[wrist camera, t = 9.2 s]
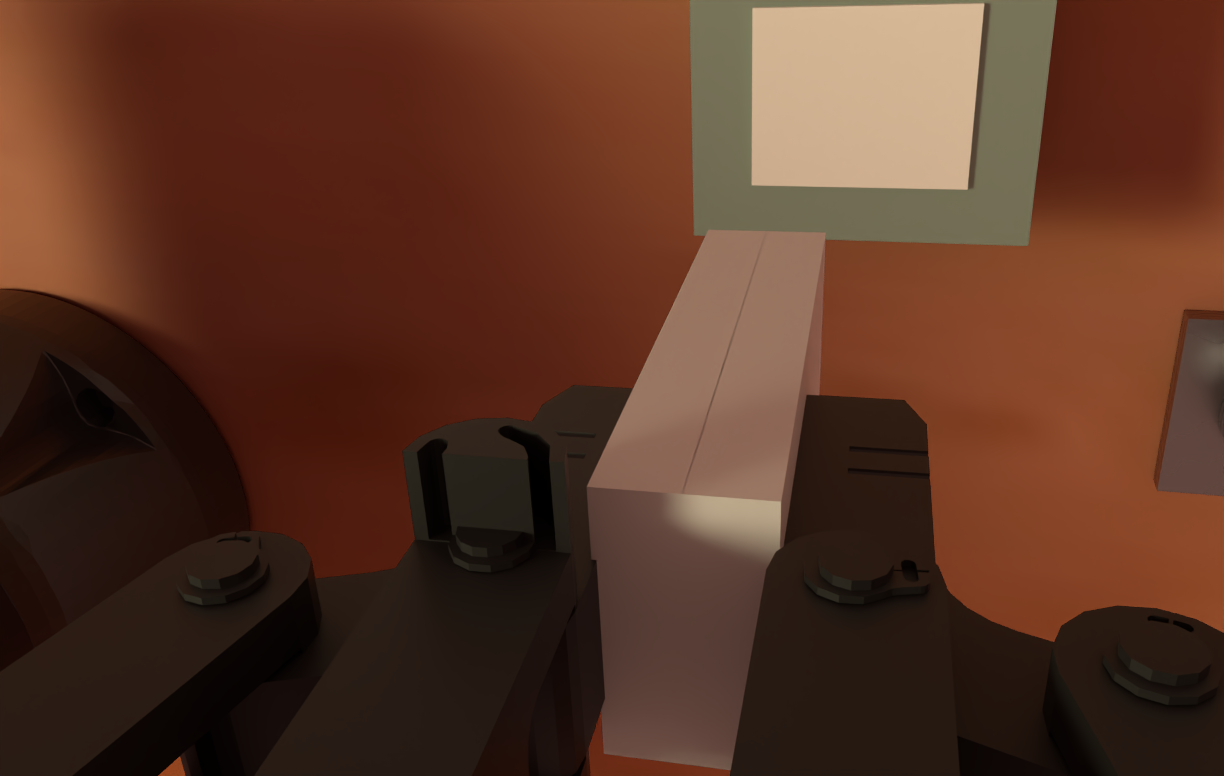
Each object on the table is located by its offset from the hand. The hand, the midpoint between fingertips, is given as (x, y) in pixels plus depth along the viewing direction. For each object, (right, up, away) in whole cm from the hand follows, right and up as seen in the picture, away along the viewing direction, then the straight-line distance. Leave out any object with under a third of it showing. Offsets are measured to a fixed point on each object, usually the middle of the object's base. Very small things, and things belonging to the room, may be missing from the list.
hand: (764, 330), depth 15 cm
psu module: (+5, +8, +13) cm, 16 cm away
